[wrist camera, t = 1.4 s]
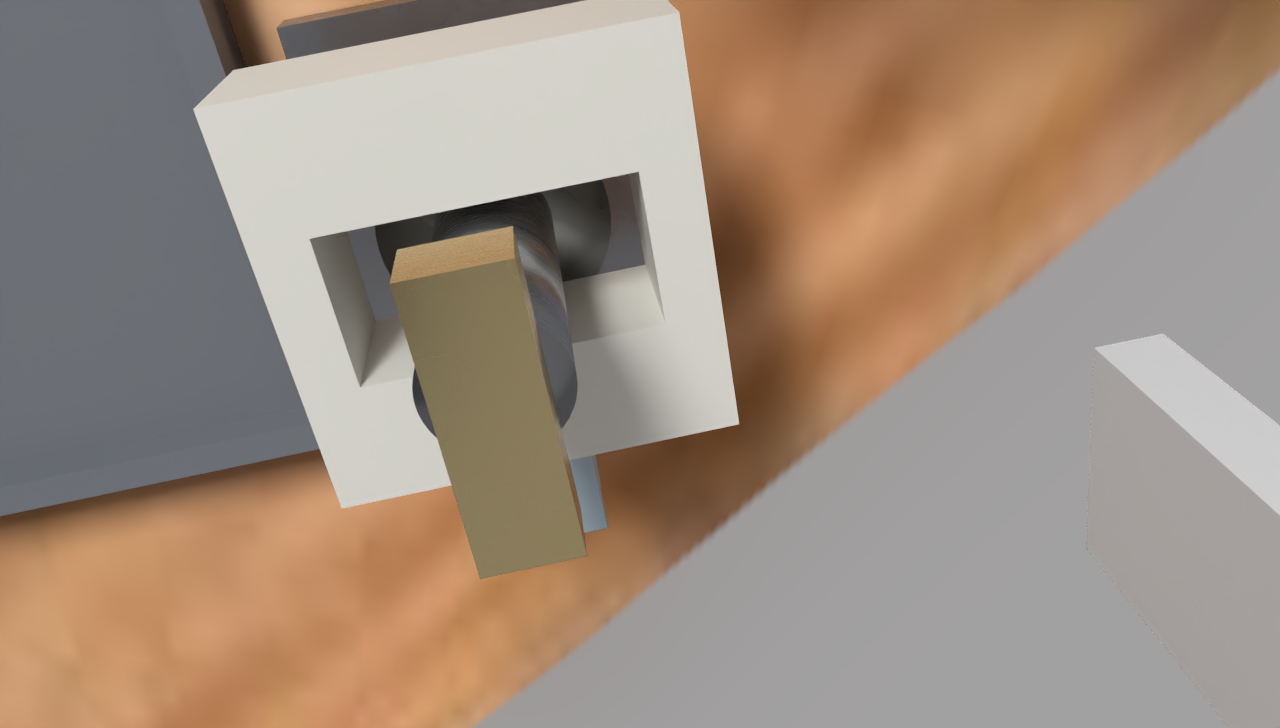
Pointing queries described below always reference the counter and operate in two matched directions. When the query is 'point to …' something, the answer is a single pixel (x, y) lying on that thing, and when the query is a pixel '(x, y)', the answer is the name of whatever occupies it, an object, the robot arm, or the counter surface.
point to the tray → (125, 260)
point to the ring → (470, 175)
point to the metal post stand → (489, 313)
